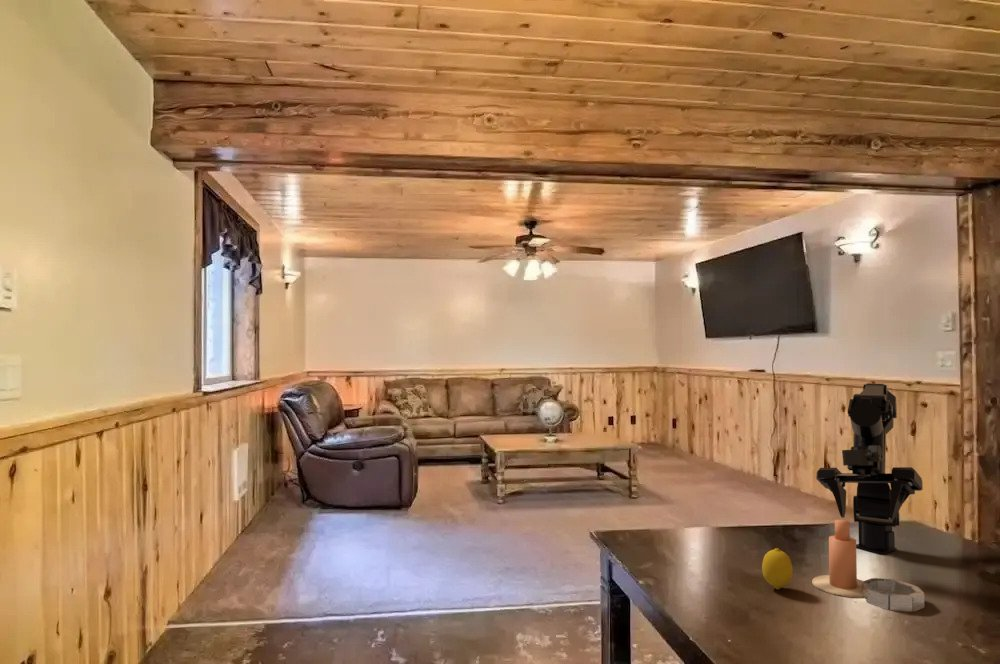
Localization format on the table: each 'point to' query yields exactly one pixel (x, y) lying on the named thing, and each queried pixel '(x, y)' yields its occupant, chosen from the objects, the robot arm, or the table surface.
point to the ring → (893, 594)
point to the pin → (842, 557)
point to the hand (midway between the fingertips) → (866, 518)
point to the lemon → (777, 568)
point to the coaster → (825, 585)
